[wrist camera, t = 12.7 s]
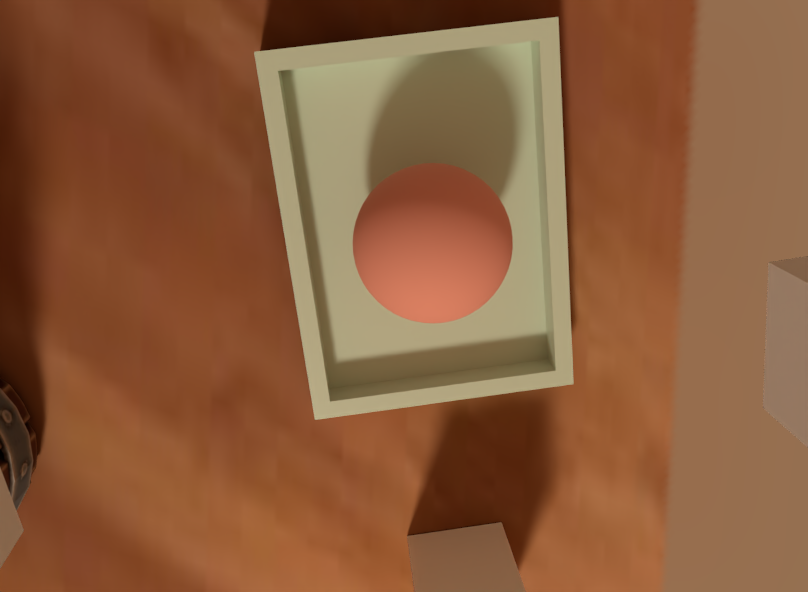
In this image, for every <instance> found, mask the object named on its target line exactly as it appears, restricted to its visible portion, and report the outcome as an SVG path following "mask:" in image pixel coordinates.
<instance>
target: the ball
mask: <svg viewBox="0 0 808 592" xmlns="http://www.w3.org/2000/svg"><path fill="white" fill-rule="evenodd" d="M512 250H513V237H512V229H511V224H510V220H509V217H508V214H507V212H506V210H505V207H504V206H503V204H502V202H501V201H500V199H499V197H498V196H497V195H496V193H495V192H494V191H493V190H492V188H491V187H490V186H488V185H487V184H486V183H485V182H484V181H483V180H482V179H480V178H479V177H477V176H476V175H474V174H472V173H470V172H468V171H466V170H465V169H462V168H459V167H456V166H453V165H448V164H443V163H423V164H418V165H413V166H410V167H407V168H404V169H401V170H399V171H397V172H395V173H393V174H392V175H390V176H389V177H387V178H385V179H384V180H383V181H382V182H381V183H379V184H378V185H377V186H376V187H375V188H374V189H373V191H372V192H371V193H370V194H369V195H368V197H367V198H366V200H365V201H364V203H363V205H362V207H361V209H360V211H359V213H358V216H357V219H356V222H355V227H354V232H353V255H354V260H355V264H356V268H357V270H358V273H359V276H360V278H361V280H362V282H363V284H364V285H365V287H366V288H367V290H368V291H369V293H370V294H371V295H372V296H373V297H374V298H375V299H376V300H377V301H378V302H379V303H380V304H381V305H382V306H384V307H385V308H386V309H388V310H389V311H391V312H392V313H394V314H396V315H398V316H400V317H402V318H405V319H408V320H412V321H416V322H422V323H444V322H449V321H454V320H457V319H460V318H463V317H465V316H467V315H469V314H471V313H473V312H474V311H476V310H478V309H479V308H480V307H482V306H483V305H484V304H485V303H487V301H488V300H489V299H490V298H491V297H492V296H493V295H494V294H495V293H496V291H497V290H498V289H499V287H500V285H501V284H502V282H503V280H504V278H505V276H506V274H507V271H508V269H509V265H510V262H511V257H512Z"/></svg>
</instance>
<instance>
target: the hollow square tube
mask: <svg viewBox="0 0 808 592" xmlns="http://www.w3.org/2000/svg"><path fill="white" fill-rule="evenodd" d="M407 539H408V547H409V555H410V562H411V570H412V578H413V586H414V592H526V591H525V588H524V585H523V582H522V579H521V577H520V574H519V571H518V568H517V565H516V562H515V559H514V556H513V554H512V551H511V548H510V545H509V542H508V539H507V536H506V534H505V531H504V528H503V525H502V522H499V523H493V524H486V525H479V526H472V527H465V528H458V529H451V530H445V531H438V532H431V533H424V534H417V535H410V536H407Z"/></svg>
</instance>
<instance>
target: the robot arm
mask: <svg viewBox="0 0 808 592" xmlns="http://www.w3.org/2000/svg"><path fill="white" fill-rule="evenodd" d="M766 319H767V320H766V344H765V369H764V395H763V408H764V409H765V410H766V411H767V412H768V413H769V414H770V415H772V416H773V417H774V418H775V419H776V420H777V421H778V422H780V423H781V424H782V425H783V426H784V427H785V428H786V429H788V430H789V431H790V432H791V433H792V434H793V435H794V436H795V437H797V438H798V439H799V440H800V441H801V442H802V443H804V445H806V446H807V447H808V256H805V257H799V258H792V259H786V260H780V261H773V262H769V265H768V292H767V317H766ZM23 531H24V530H23V527H22V524H21V522H20V519H19V516H18V514H17V511H16V508H15V506H14V503H13V500H12V498H11V495H10V492H9V490H8V487H7V484H6V482H5V479H4V476H3V474H2V471H1V468H0V568H1V566H2V565H3V563H4V562H5V560H6V558H7V557H8V555H9V553H10V552H11V550H12V549H13V547H14V545H15V544H16V542H17V541H18V539H19V537H20V536H21V534H22V533H23Z"/></svg>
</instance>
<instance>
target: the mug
mask: <svg viewBox="0 0 808 592" xmlns="http://www.w3.org/2000/svg"><path fill="white" fill-rule="evenodd" d="M29 419H30V415H29V413H28V411H27V409H26V408H25V406H24V404H23V402H22V400H21V399H20V397H19V396H18V395H17V393H16V392H15V391H14V390H13V388H12V387H11V386H10V384H8V383H7V382H5V381H4V380H2V379H0V468H1V471H2V474H3V476H4V479H5V482H6V484H7V487H8V490H9V492H10V495H11V498H12V500H13V503H14V506H15V508H16V510H17V509H18V507H19V505H20V503H21V501H22V500H23V498H24V496H25V494H26V492H27V490H28V488H29V486H30V483H31V480H30V479H31V473H32V472H33V470H34V469H35V468H36V460H37V442H36V433H35V432H34V430H33V429H32V427H31V426H30V424H29V422H28V420H29Z"/></svg>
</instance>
